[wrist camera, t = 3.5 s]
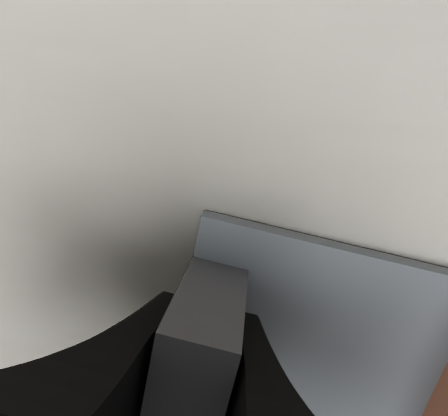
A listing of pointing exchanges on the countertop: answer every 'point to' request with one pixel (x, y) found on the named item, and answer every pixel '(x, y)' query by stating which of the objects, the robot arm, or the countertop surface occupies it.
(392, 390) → the slate strip
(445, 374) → the terracotta block
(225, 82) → the countertop surface
